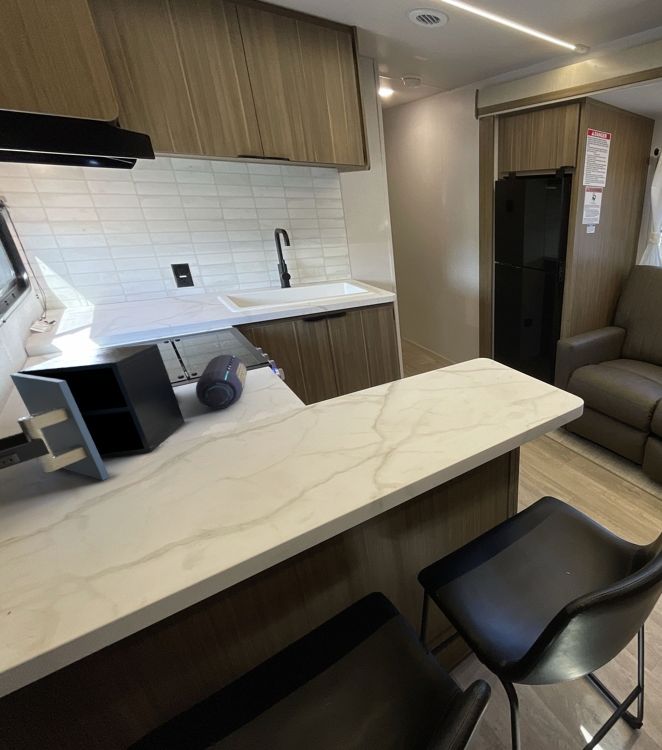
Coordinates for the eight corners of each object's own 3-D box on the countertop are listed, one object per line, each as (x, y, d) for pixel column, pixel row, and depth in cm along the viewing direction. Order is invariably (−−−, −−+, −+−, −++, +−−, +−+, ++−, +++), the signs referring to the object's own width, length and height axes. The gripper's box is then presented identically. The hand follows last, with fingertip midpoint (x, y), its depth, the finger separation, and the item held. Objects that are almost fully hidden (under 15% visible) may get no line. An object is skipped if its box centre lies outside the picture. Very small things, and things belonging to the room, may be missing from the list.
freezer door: (64, 498, 70) (11, 395, 63) (16, 482, 76) (-37, 385, 69) (109, 477, 76) (65, 380, 69) (62, 463, 81) (17, 373, 75)
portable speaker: (245, 408, 104) (235, 372, 101) (199, 417, 100) (187, 380, 97) (251, 379, 125) (243, 348, 122) (214, 386, 121) (203, 354, 118)
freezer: (151, 451, 85) (115, 362, 78) (62, 463, 82) (16, 371, 75) (185, 422, 97) (157, 343, 91) (109, 432, 95) (74, 351, 88)
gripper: (-194, 519, 58) (36, 446, 76) (-201, 573, 48) (65, 474, 66) (-229, 475, 55) (18, 410, 73) (-245, 522, 46) (45, 434, 64)
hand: (40, 441), depth 70 cm, fingers open, 6 cm apart
